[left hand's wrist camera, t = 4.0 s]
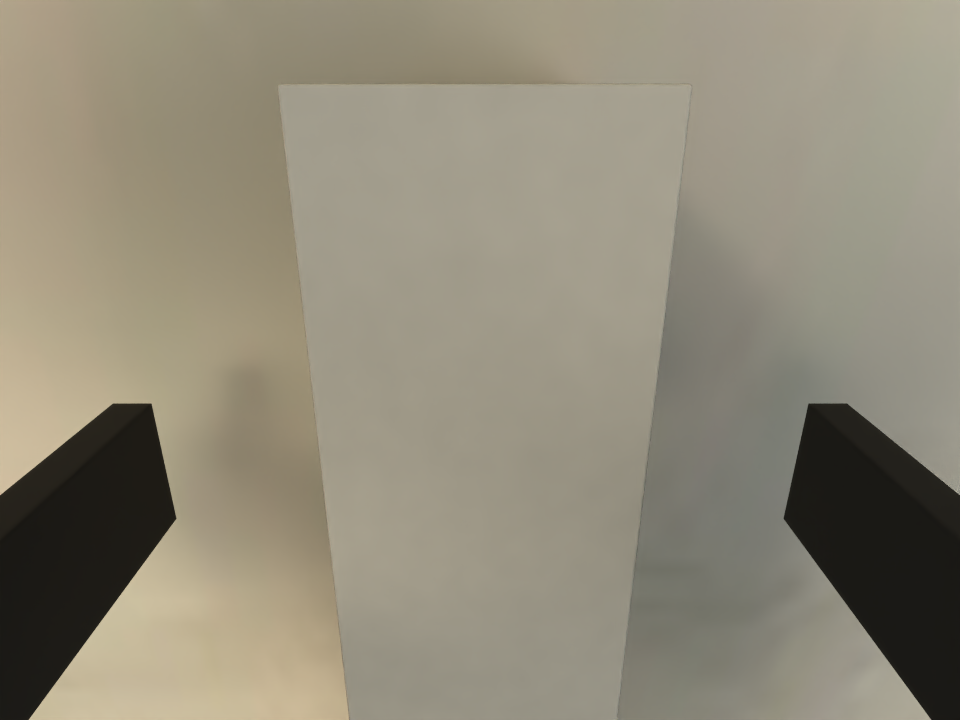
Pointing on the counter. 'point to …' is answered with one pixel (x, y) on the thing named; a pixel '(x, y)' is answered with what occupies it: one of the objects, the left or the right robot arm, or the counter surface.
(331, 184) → the beam
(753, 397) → the counter surface
